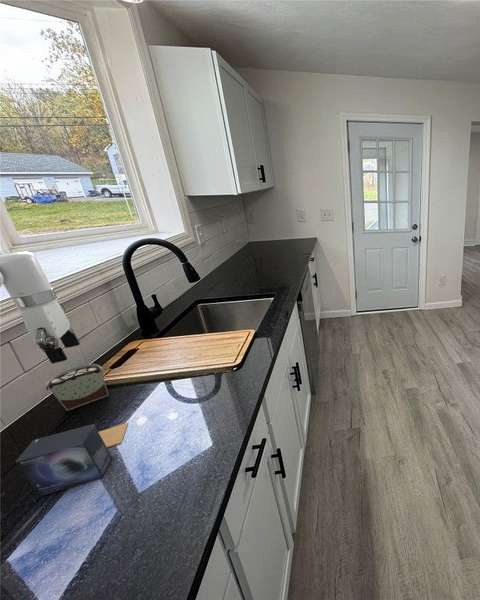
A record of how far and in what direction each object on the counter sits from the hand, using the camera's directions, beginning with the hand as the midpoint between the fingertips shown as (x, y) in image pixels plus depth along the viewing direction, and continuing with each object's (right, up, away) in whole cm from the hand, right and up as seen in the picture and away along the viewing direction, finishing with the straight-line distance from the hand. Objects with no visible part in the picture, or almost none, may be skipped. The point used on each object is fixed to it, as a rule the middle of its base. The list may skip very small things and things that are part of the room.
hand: (66, 353), depth 90 cm
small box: (+25, -24, -21) cm, 40 cm away
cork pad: (+19, -21, -12) cm, 30 cm away
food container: (+1, -15, +6) cm, 16 cm away
